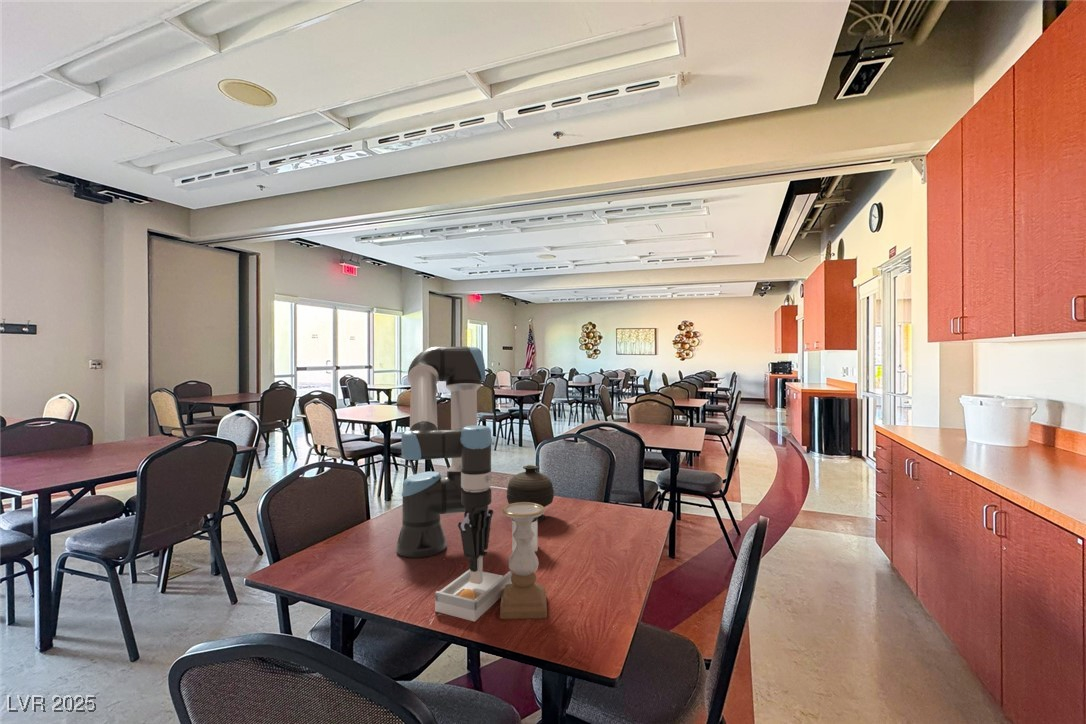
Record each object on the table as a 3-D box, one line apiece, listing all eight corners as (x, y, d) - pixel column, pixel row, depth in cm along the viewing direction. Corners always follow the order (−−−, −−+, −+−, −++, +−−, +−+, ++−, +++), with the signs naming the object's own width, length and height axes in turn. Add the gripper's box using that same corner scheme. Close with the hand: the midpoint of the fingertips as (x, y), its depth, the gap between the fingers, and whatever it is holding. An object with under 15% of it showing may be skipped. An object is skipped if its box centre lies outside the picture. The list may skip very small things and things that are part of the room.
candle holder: (545, 595, 120) (545, 501, 120) (547, 618, 109) (547, 515, 109) (502, 595, 120) (501, 501, 120) (499, 619, 109) (499, 515, 109)
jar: (519, 556, 144) (519, 517, 144) (506, 547, 151) (506, 509, 150) (543, 550, 149) (543, 511, 149) (530, 541, 155) (530, 505, 155)
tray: (435, 611, 112) (435, 592, 112) (475, 579, 129) (475, 562, 129) (474, 621, 108) (474, 601, 108) (511, 587, 124) (511, 569, 124)
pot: (519, 505, 191) (522, 457, 190) (559, 516, 183) (563, 465, 182) (495, 520, 175) (499, 467, 174) (538, 532, 167) (542, 477, 166)
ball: (453, 602, 113) (459, 585, 115) (461, 607, 116) (466, 590, 118) (467, 606, 111) (473, 588, 114) (475, 610, 114) (480, 593, 116)
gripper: (475, 496, 111) (475, 597, 111) (502, 483, 123) (502, 574, 123) (448, 493, 114) (448, 590, 114) (477, 480, 126) (477, 568, 126)
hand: (476, 582), depth 119 cm, fingers closed
